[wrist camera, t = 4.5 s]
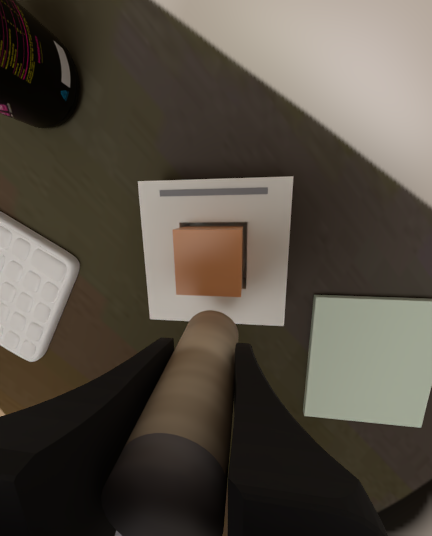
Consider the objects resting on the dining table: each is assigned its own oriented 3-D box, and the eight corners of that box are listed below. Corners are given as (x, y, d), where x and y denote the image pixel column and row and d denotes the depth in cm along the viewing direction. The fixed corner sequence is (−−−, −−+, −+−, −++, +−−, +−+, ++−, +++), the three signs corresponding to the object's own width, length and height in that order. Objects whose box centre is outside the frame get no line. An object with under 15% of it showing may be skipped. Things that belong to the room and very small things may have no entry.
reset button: (242, 282, 16) (240, 297, 14) (187, 281, 17) (176, 294, 14) (243, 226, 16) (242, 229, 13) (185, 226, 16) (172, 229, 13)
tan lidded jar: (238, 359, 13) (224, 567, 6) (187, 355, 14) (110, 545, 6) (238, 311, 13) (223, 477, 5) (185, 309, 13) (92, 459, 5)
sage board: (416, 421, 21) (421, 427, 21) (302, 410, 23) (304, 415, 22) (445, 299, 18) (452, 302, 18) (313, 294, 20) (315, 297, 19)
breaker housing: (277, 304, 20) (284, 326, 16) (167, 299, 22) (149, 319, 18) (283, 183, 18) (293, 176, 14) (159, 187, 19) (137, 181, 15)
